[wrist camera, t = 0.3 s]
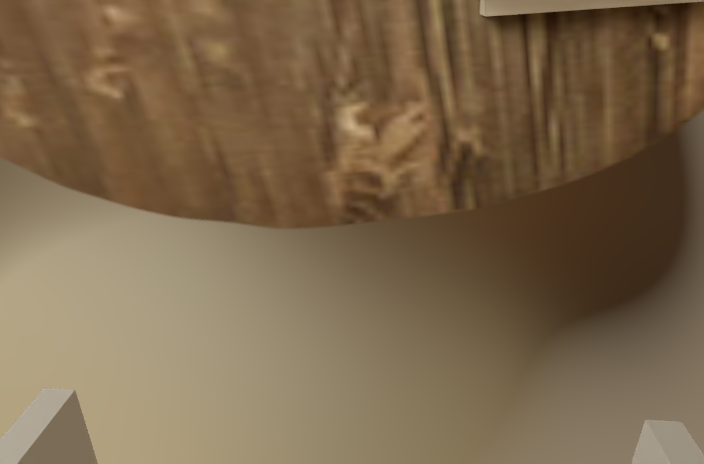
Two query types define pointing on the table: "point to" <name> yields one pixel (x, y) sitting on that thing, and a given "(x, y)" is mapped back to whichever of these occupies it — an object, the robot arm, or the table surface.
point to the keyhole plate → (560, 5)
